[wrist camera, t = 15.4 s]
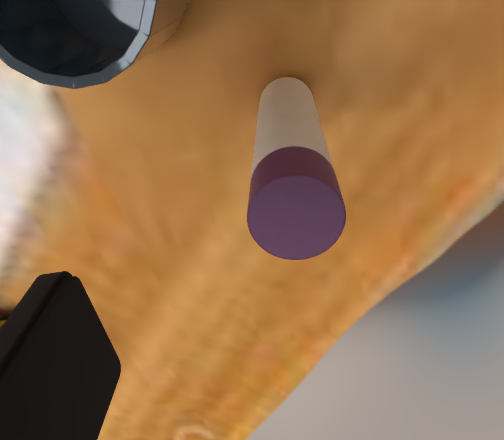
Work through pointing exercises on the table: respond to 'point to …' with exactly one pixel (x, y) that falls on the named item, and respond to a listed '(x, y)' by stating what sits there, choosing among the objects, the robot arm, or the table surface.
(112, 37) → the pen cup
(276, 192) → the glue stick
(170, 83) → the table surface
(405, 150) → the table surface
